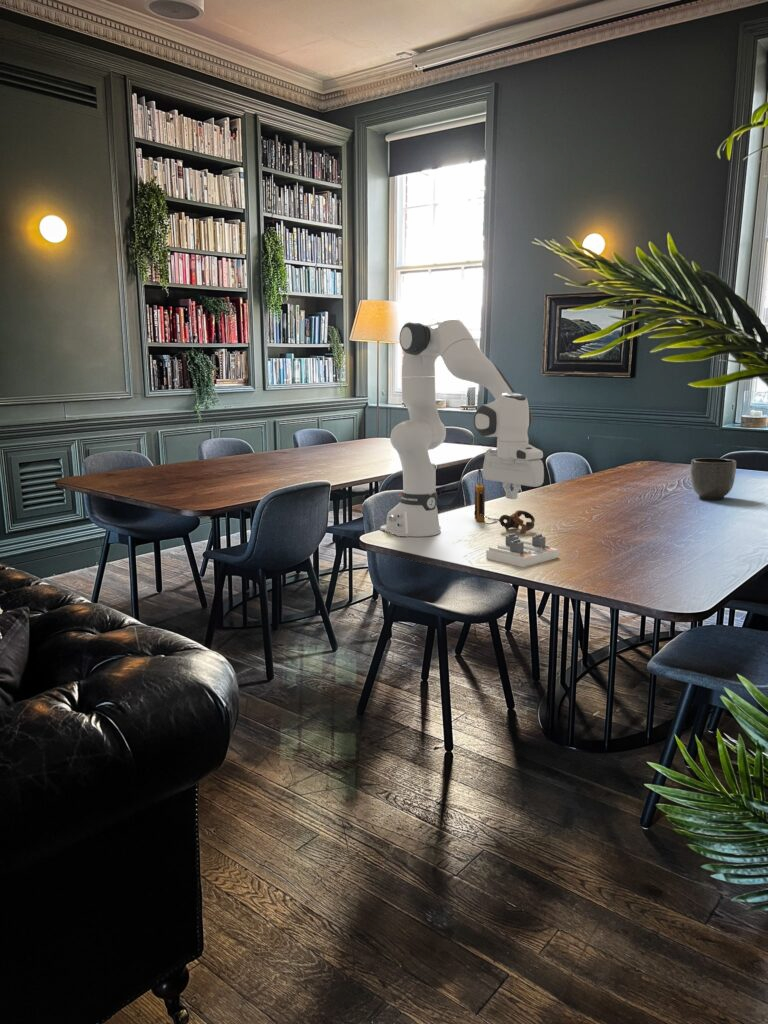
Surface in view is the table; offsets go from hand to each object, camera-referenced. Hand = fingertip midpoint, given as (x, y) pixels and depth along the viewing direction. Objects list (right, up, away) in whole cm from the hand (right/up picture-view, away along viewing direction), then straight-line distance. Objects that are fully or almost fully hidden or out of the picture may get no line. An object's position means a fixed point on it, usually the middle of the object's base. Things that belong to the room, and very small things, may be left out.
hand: (511, 498), depth 221 cm
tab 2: (+9, -14, +8) cm, 19 cm away
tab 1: (+2, -16, +1) cm, 16 cm away
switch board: (+4, -18, +7) cm, 19 cm away
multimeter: (+2, -7, +63) cm, 63 cm away
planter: (+100, +2, +99) cm, 141 cm away
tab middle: (+2, -14, +9) cm, 17 cm away
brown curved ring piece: (+9, -11, +43) cm, 45 cm away
